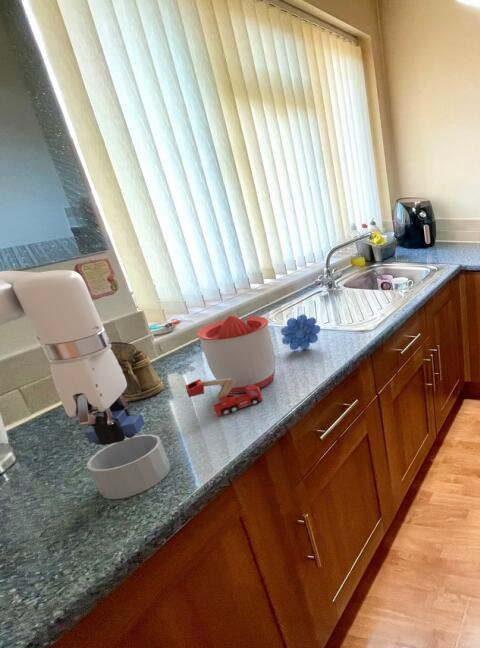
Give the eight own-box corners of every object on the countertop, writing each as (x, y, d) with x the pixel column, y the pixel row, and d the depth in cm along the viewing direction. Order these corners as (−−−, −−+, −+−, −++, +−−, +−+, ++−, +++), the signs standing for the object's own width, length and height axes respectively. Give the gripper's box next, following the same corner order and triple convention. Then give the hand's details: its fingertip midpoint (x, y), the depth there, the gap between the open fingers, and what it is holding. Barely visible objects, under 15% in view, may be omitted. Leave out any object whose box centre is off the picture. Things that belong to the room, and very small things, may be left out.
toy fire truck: (264, 401, 102) (255, 367, 99) (198, 424, 93) (186, 388, 90) (260, 396, 105) (251, 363, 101) (196, 418, 96) (183, 383, 92)
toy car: (90, 446, 71) (80, 425, 70) (100, 435, 74) (90, 415, 73) (138, 436, 74) (130, 416, 72) (146, 425, 77) (137, 406, 75)
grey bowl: (89, 506, 71) (74, 477, 69) (115, 469, 80) (103, 442, 78) (160, 489, 75) (148, 461, 73) (178, 455, 84) (168, 429, 81)
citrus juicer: (282, 362, 122) (266, 300, 115) (281, 389, 108) (264, 319, 101) (220, 374, 116) (200, 309, 108) (211, 404, 101) (187, 331, 94)
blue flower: (325, 341, 137) (318, 308, 132) (323, 349, 131) (316, 315, 126) (287, 346, 133) (279, 312, 129) (283, 355, 127) (275, 319, 123)
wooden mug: (114, 414, 98) (85, 347, 91) (123, 390, 108) (97, 329, 101) (161, 402, 103) (136, 338, 96) (165, 380, 113) (143, 321, 106)
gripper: (75, 331, 73) (113, 416, 80) (13, 371, 59) (67, 470, 65) (127, 324, 76) (160, 407, 82) (81, 361, 61) (125, 457, 68)
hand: (118, 434), depth 74 cm, fingers closed on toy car, 3 cm apart
